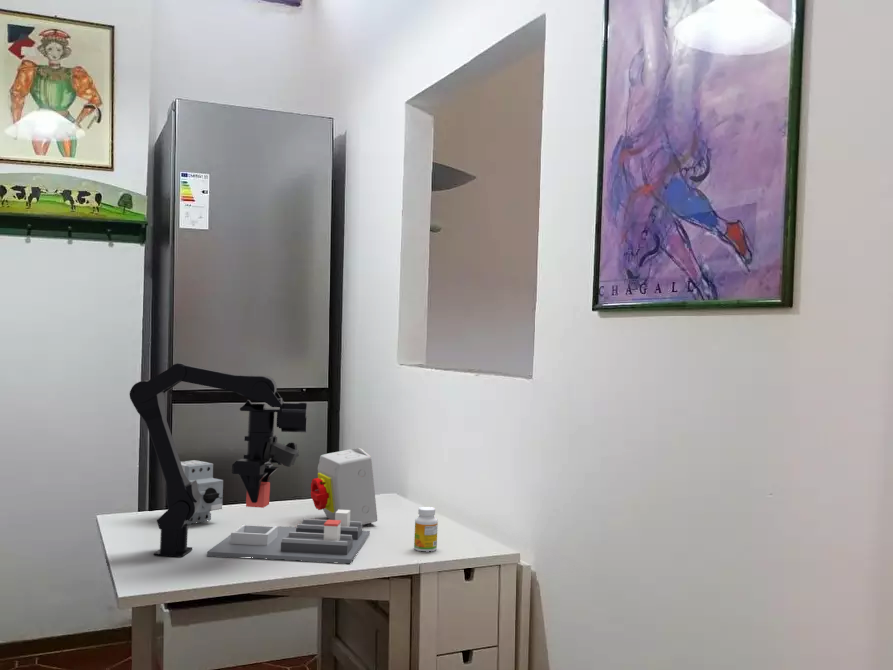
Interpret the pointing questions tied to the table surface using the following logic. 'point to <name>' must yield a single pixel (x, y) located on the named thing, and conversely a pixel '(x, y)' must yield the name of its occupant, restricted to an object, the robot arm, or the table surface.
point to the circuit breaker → (204, 488)
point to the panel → (293, 542)
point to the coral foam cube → (260, 496)
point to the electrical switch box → (345, 485)
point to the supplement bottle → (426, 530)
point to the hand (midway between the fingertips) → (257, 500)
